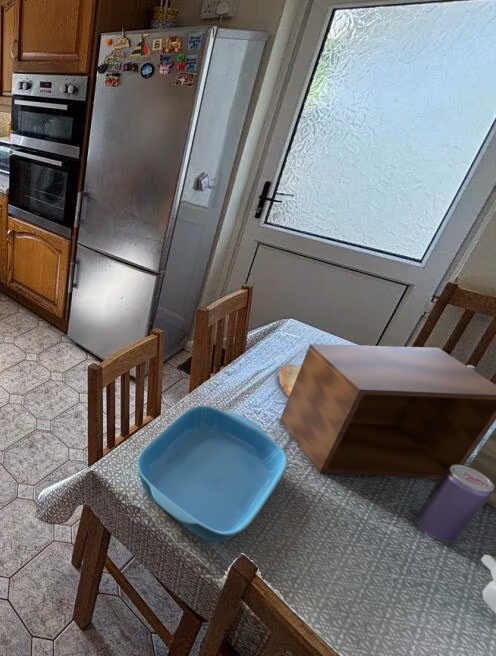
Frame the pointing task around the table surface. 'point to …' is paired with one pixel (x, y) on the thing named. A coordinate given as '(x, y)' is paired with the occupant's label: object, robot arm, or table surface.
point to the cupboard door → (487, 463)
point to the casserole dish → (212, 471)
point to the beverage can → (454, 503)
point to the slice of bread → (288, 377)
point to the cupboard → (387, 410)
